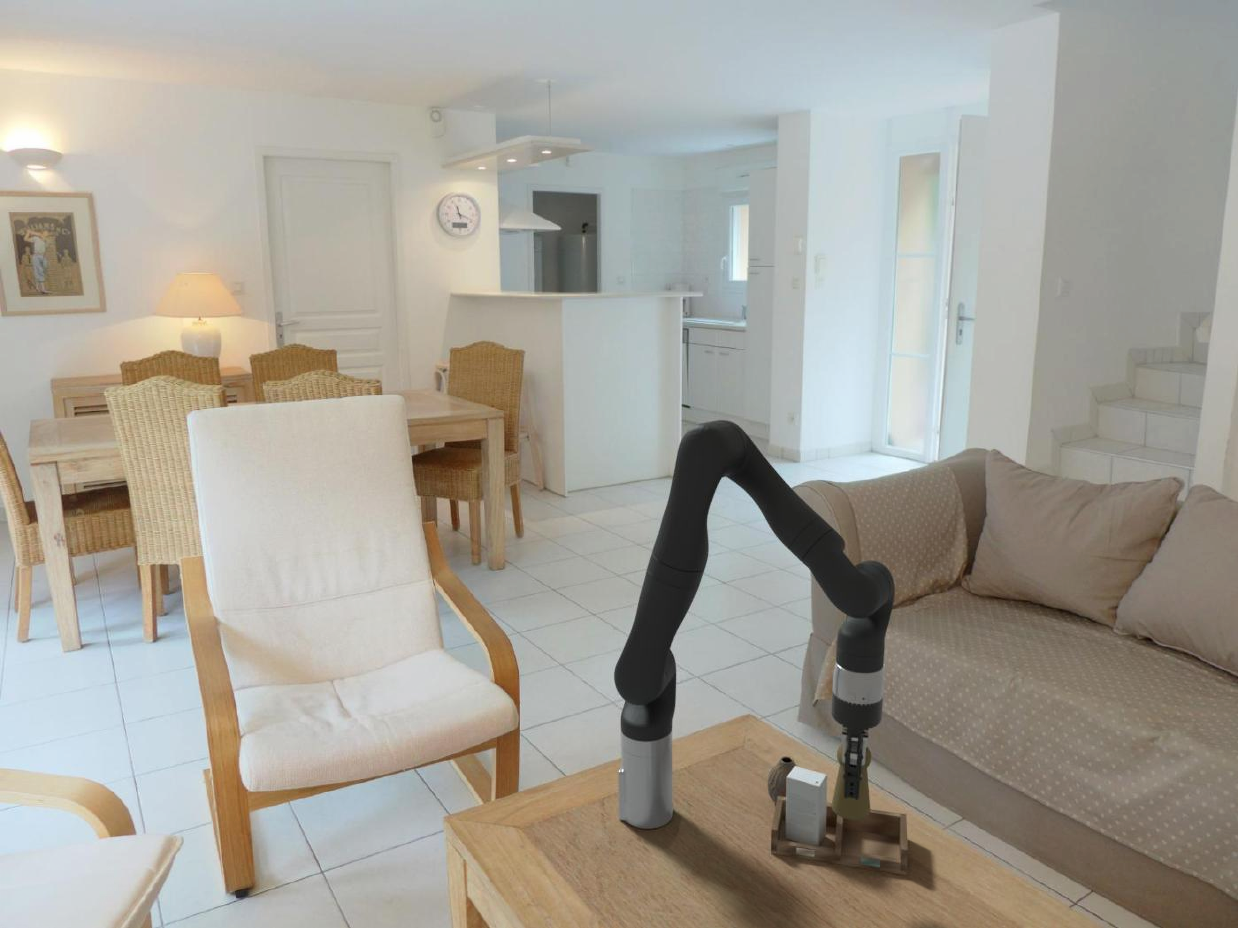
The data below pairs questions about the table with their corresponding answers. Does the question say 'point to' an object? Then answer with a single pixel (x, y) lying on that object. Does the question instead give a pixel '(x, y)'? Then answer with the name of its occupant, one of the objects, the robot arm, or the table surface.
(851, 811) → the cork
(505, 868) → the table surface
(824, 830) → the skincare box
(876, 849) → the slot rack
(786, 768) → the vase
